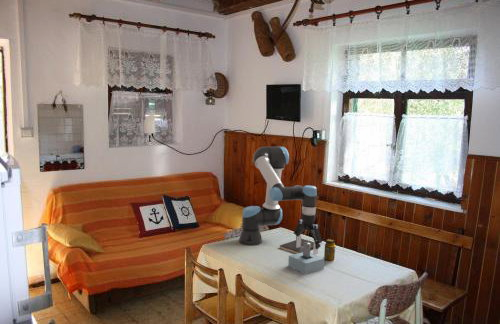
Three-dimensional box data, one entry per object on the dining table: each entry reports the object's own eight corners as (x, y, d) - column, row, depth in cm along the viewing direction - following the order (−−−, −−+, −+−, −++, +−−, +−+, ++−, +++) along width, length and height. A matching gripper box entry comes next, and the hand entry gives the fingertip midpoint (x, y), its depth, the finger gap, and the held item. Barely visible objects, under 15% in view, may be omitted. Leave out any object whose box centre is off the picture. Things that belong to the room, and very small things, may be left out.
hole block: (288, 265, 233) (288, 255, 232) (306, 261, 241) (306, 251, 240) (305, 274, 221) (306, 263, 221) (323, 268, 230) (324, 258, 229)
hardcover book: (279, 248, 262) (279, 245, 262) (300, 241, 279) (300, 238, 279) (299, 255, 252) (299, 251, 251) (320, 247, 268) (320, 244, 268)
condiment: (337, 260, 244) (338, 240, 242) (327, 263, 239) (328, 243, 238) (328, 256, 250) (329, 237, 248) (318, 259, 245) (319, 239, 244)
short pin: (298, 256, 248) (298, 247, 247) (303, 255, 250) (303, 246, 249) (302, 258, 245) (303, 249, 244) (307, 257, 247) (308, 247, 246)
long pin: (300, 266, 232) (302, 242, 230) (305, 265, 234) (307, 241, 233) (305, 268, 228) (307, 244, 227) (310, 267, 231) (312, 243, 229)
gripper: (288, 209, 235) (287, 245, 238) (320, 219, 215) (318, 258, 218) (298, 208, 239) (296, 243, 242) (330, 217, 220) (327, 256, 222)
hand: (306, 250), depth 230 cm, fingers open, 13 cm apart
